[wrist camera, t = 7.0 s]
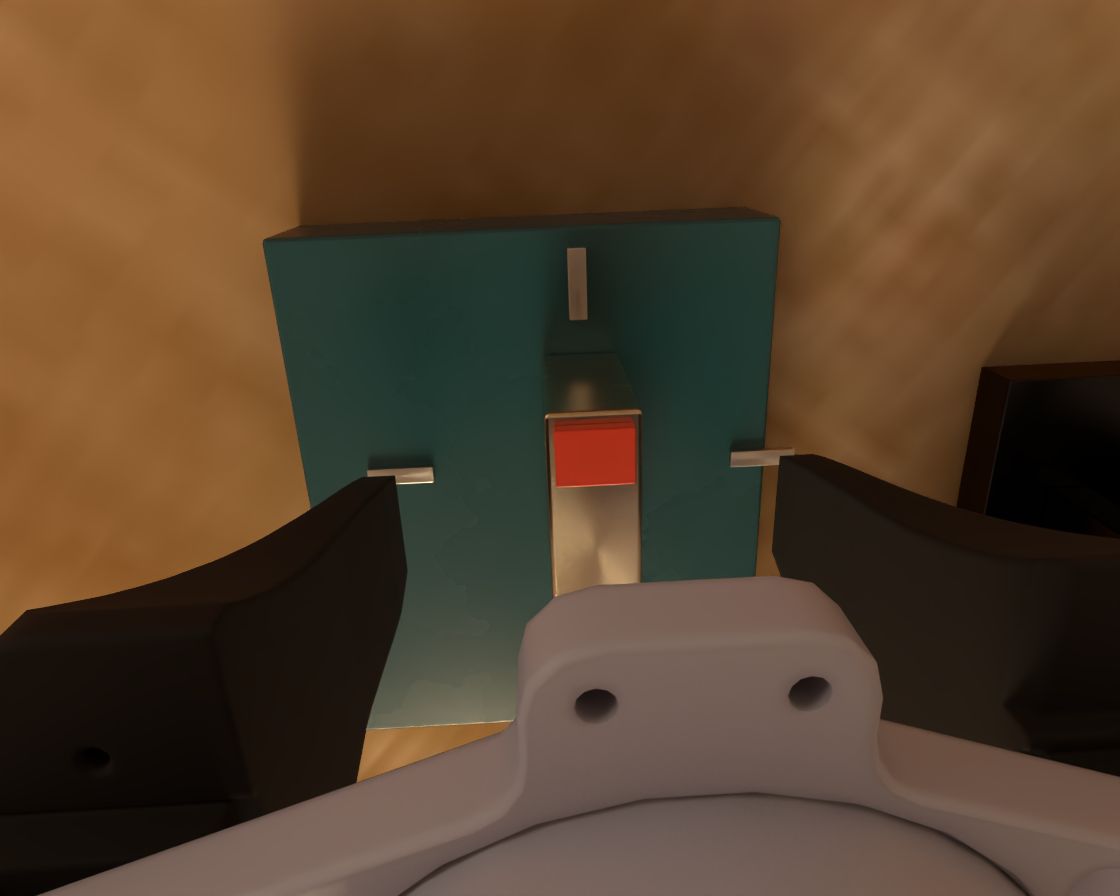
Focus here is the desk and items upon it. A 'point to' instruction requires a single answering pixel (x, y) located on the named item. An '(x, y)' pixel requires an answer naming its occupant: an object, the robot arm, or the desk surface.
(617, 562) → the tan rectangular block
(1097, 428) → the faucet stand
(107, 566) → the desk surface
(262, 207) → the desk surface
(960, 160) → the desk surface
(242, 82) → the desk surface
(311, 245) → the panel
